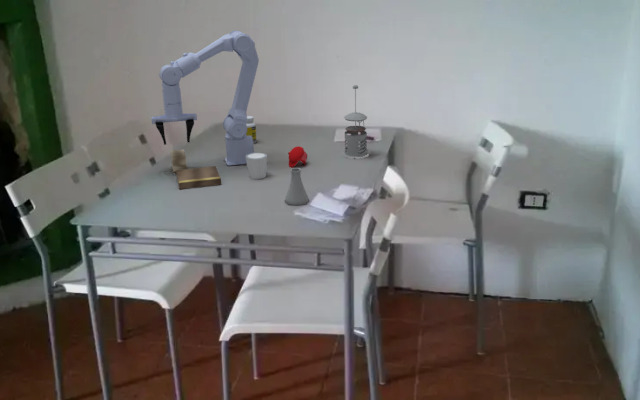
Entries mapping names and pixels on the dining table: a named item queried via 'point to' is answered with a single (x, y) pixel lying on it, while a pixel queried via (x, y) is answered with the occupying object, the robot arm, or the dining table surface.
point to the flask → (296, 189)
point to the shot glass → (256, 165)
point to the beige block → (178, 160)
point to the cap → (297, 156)
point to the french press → (355, 134)
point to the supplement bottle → (251, 128)
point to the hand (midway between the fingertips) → (176, 142)
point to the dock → (198, 177)
